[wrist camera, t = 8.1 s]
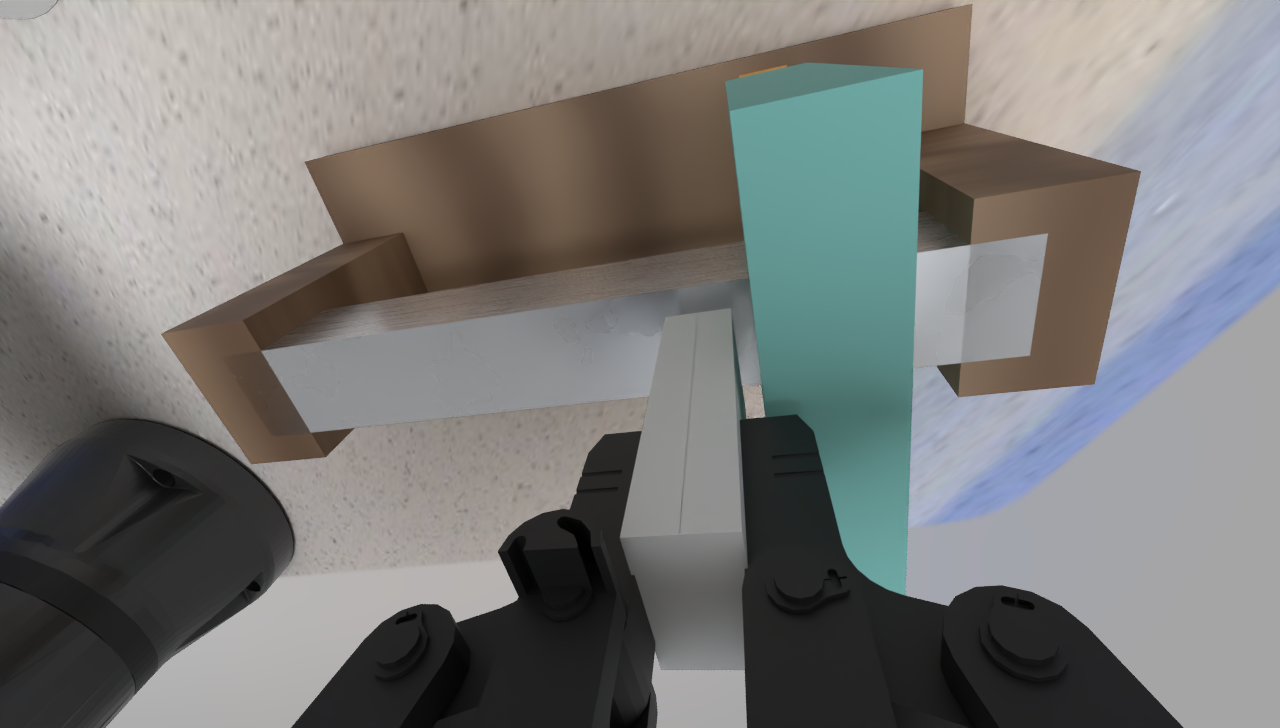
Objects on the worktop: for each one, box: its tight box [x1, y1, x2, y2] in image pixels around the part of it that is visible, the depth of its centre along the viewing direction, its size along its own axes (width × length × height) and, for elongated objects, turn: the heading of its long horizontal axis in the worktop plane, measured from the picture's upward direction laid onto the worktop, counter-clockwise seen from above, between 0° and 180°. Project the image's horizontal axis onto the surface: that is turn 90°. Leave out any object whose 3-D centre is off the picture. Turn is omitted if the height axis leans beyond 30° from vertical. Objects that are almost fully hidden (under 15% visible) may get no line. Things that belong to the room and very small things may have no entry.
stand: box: [161, 4, 1141, 464], centre depth 19 cm, size 25×12×10 cm, turn 102°
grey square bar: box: [226, 211, 1048, 436], centre depth 16 cm, size 22×3×3 cm, turn 102°
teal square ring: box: [725, 63, 923, 596], centre depth 15 cm, size 2×11×11 cm, turn 12°
